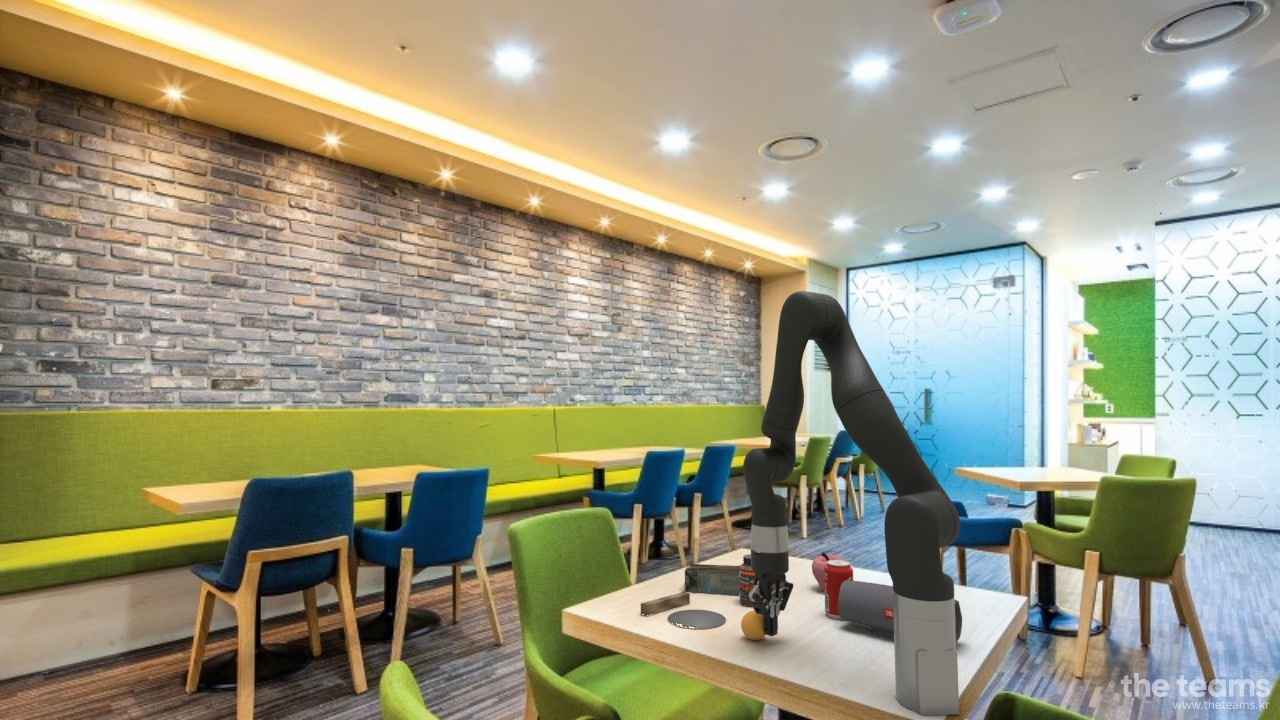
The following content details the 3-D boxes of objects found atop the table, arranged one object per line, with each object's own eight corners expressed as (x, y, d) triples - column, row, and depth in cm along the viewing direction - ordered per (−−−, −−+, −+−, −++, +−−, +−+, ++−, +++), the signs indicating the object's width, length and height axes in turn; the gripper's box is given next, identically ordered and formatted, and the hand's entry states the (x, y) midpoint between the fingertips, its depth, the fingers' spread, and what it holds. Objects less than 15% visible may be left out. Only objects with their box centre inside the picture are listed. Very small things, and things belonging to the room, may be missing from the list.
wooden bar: (683, 602, 160) (683, 591, 160) (689, 604, 158) (689, 593, 159) (640, 614, 151) (640, 603, 151) (646, 616, 149) (646, 605, 149)
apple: (847, 597, 163) (846, 556, 164) (811, 594, 166) (810, 554, 167) (847, 587, 172) (846, 548, 173) (813, 584, 175) (812, 546, 176)
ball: (774, 637, 132) (766, 608, 133) (747, 644, 131) (739, 614, 133) (769, 635, 137) (761, 607, 139) (743, 641, 136) (736, 613, 138)
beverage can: (855, 621, 145) (854, 566, 146) (826, 619, 147) (825, 565, 147) (852, 612, 152) (851, 559, 152) (824, 611, 153) (823, 558, 154)
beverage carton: (689, 585, 176) (688, 560, 176) (761, 590, 171) (761, 564, 172) (684, 593, 168) (683, 567, 169) (760, 598, 164) (760, 571, 164)
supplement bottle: (735, 605, 157) (735, 557, 158) (744, 598, 163) (743, 552, 163) (760, 608, 155) (759, 559, 155) (767, 602, 160) (766, 554, 161)
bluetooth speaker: (836, 630, 140) (835, 582, 141) (854, 619, 147) (853, 573, 148) (950, 657, 125) (948, 603, 126) (963, 643, 132) (962, 592, 133)
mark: (730, 629, 141) (730, 628, 141) (669, 629, 140) (669, 628, 140) (721, 610, 154) (721, 609, 154) (665, 610, 153) (665, 609, 153)
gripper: (774, 539, 140) (775, 622, 139) (733, 548, 132) (734, 637, 130) (804, 545, 135) (805, 632, 134) (763, 555, 126) (765, 648, 125)
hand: (770, 634), depth 132 cm, fingers closed
